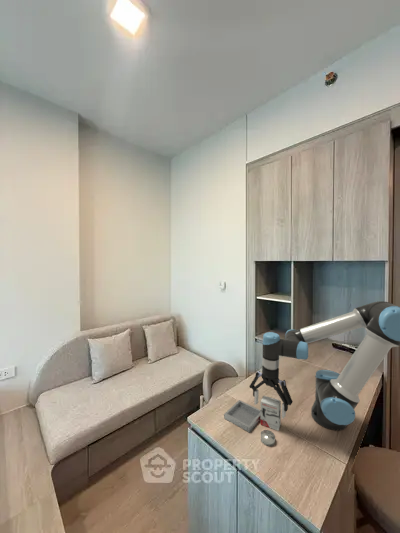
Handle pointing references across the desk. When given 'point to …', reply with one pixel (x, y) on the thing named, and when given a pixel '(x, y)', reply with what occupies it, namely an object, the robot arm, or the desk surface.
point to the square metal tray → (243, 415)
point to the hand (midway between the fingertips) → (269, 409)
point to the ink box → (271, 412)
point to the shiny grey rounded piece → (267, 438)
